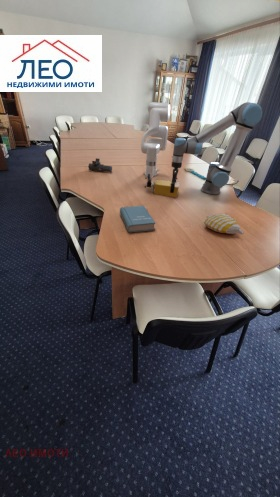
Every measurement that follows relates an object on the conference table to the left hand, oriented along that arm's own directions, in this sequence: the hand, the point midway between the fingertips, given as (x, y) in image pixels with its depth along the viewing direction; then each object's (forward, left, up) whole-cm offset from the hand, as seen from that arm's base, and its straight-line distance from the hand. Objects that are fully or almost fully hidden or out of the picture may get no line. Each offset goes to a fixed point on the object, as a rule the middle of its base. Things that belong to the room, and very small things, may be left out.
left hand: (148, 186), depth 178 cm
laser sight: (+11, -61, -3) cm, 62 cm away
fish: (-1, +72, -3) cm, 72 cm away
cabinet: (-10, +11, -3) cm, 15 cm away
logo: (-71, -12, -3) cm, 72 cm away
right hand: (-13, +14, 0) cm, 19 cm away
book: (+39, +36, -3) cm, 53 cm away
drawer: (-6, +6, -2) cm, 9 cm away
